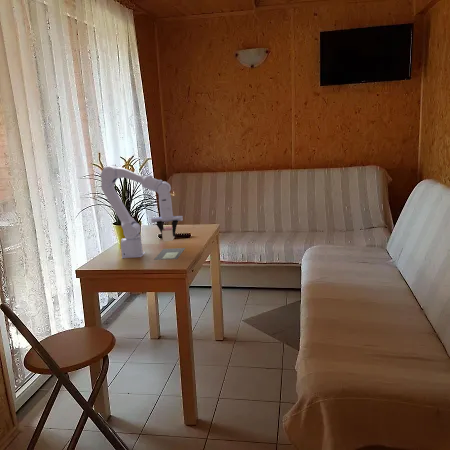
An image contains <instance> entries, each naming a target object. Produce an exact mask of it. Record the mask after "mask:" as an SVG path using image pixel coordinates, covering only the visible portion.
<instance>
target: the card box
mask: <svg viewBox="0 0 450 450" xmlns="http://www.w3.org/2000/svg"><path fill="white" fill-rule="evenodd" d="M163 228H164V229H163V230H162V234H161V238H162V242H173V241H174V239H175V237H173V228H172V226H163Z"/></svg>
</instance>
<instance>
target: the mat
mask: <svg viewBox="0 0 450 450" xmlns="http://www.w3.org/2000/svg"><path fill="white" fill-rule="evenodd" d="M185 249H186V247H181V248H179V247H178V248H163V249H162V250H161V251H160V252H159V253H158V254H157V255H156V256H155V258H154V259H153V260H154V261H161V260H163V261H164V260H166V261H167V260H177V259H179V257H180V256H181V255H182V253H183V251H185Z"/></svg>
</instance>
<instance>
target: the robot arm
mask: <svg viewBox="0 0 450 450" xmlns="http://www.w3.org/2000/svg"><path fill="white" fill-rule="evenodd" d="M99 176H100V178H101V179H100V180H101V181H100V182H101V185H100V187H101V190H102V193H103V194H104V196H105V197H106V199H107V201H108V202H109V204H110V206H111V207H112V210H113V211H114V212H115V215H116V216H117V218H118V220H119V221H120V225H121V226H120V227H121V228H122V230H123V236H124V238H123V237H122V238H121V239H120V249H121V259H129V258H130V259H132V258H141V257H143V256H144V255H145V254H146V251H143V243H142V236H141V234H140V233H141V231H142V227H141V225H140V223H138V222H137V221H136V219H135V218H133V217H132V216H131V214H130V212H129V211H128V210H127V207H126V206H125V204H124V202H123V200H122V199H121V197H120V196H119V194H118V193H117V190H116V189H115V185H116V182H117V180H118V179H123V178H125V179H128V180H131V181H133V182H137V183H140V185H141V186H142V188H144V189H147V190H150V191H152V192H154V193H157V194H158V205H159V214H160V216H158V217H152V218H151V219H150V222H151V224H153V223H156V226H157V228H158V229H159V232H160V233H161V235H162V230H163V229H164V223H165V222H171V227H172V228H173V237H174V238H175V237H176V229H177V225H178V223H179V221H180V222H183V220H184V219H183V217H184V216H183V215H174V212H173V204H172V202H173V201H172V194H171V190H172V187H171V184H170V183H169V182H167V181H165V180H164V181H163V180H162V179H157V178H154V177H153V175H145V176H143V175H140V174H138V173H137V172H134V171H131V170H129V169H127V168H124V167H122V166H117V164H112V165H110V166H105V167H103V168H102V170H101V173H100V175H99Z"/></svg>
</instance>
